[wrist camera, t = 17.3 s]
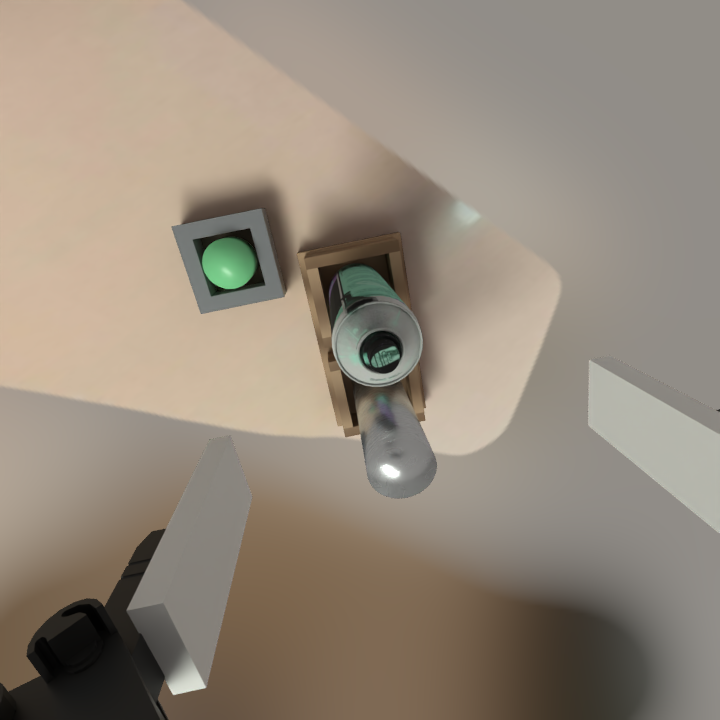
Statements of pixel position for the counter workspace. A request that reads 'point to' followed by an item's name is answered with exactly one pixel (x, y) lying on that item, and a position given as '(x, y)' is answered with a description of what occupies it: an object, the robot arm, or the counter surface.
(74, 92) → the counter surface
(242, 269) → the button
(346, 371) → the spray can
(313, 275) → the wooden double crate
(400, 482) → the seated billet
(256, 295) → the gray square frame
